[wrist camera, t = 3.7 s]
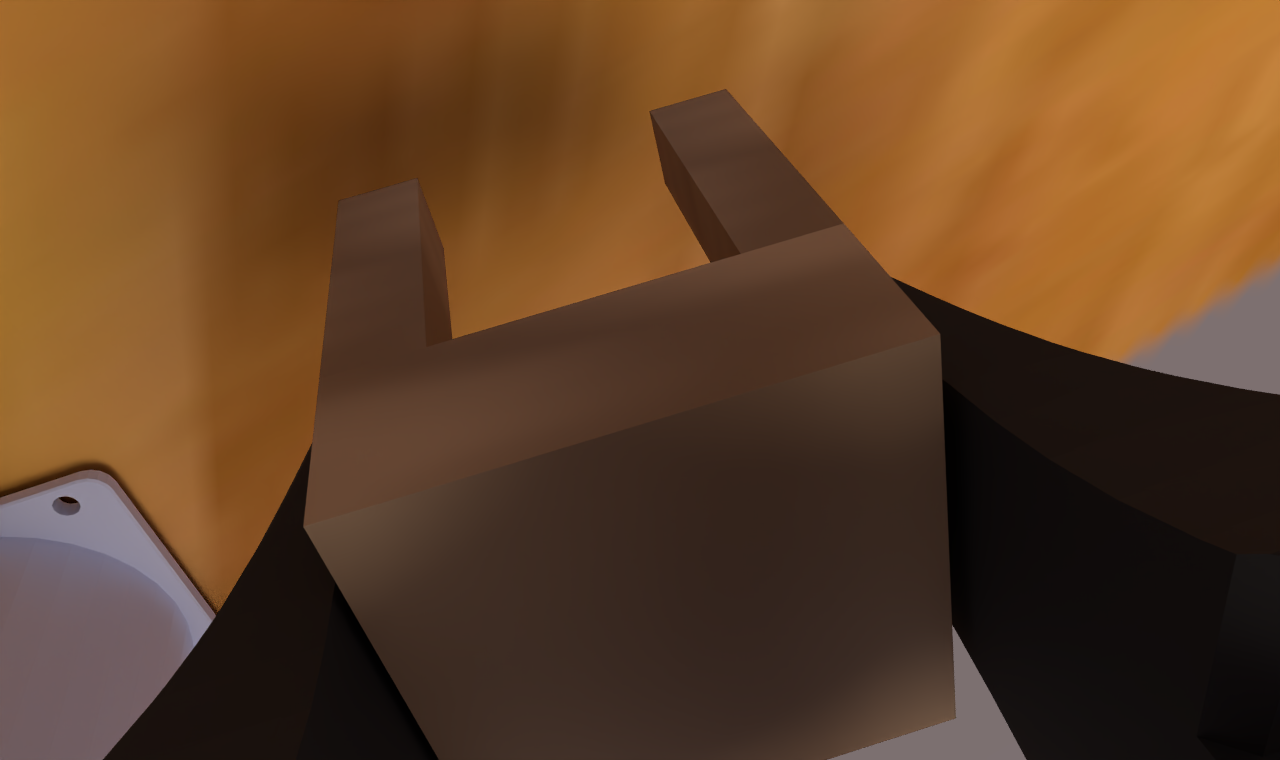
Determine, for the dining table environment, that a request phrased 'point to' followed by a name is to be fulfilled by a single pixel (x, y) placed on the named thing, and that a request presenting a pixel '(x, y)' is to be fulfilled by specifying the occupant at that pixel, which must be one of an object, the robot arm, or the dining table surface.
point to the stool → (644, 483)
